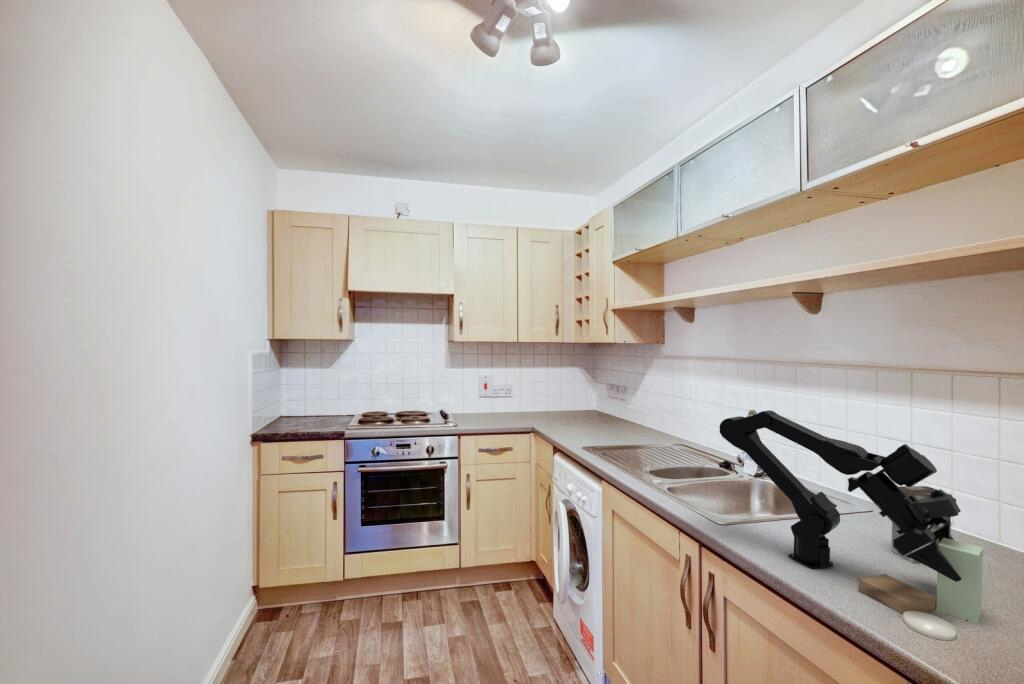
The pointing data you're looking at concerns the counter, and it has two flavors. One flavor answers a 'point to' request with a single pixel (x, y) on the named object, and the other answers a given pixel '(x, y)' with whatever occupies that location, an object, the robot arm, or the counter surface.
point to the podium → (896, 594)
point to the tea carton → (961, 581)
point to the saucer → (929, 625)
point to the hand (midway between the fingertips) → (963, 573)
